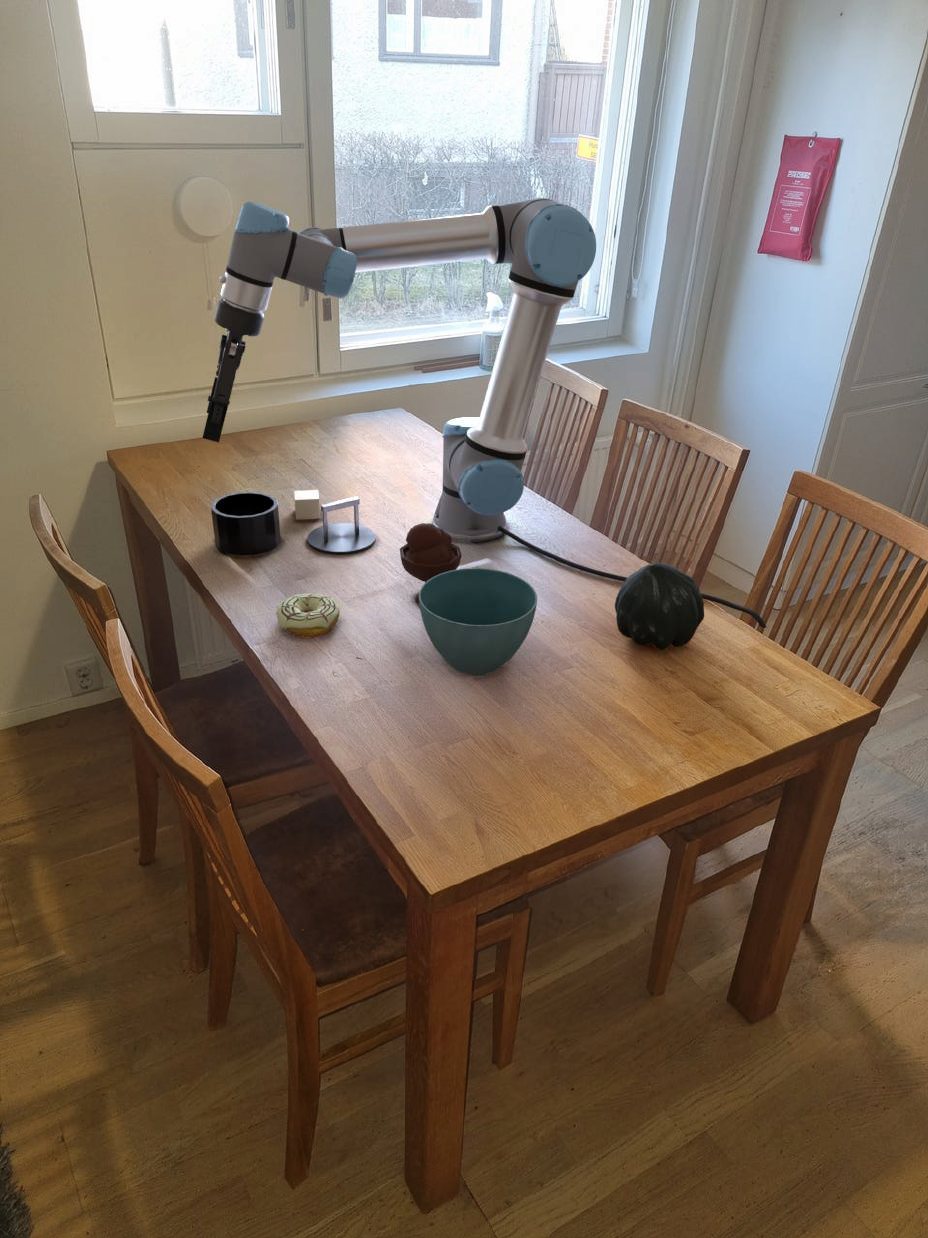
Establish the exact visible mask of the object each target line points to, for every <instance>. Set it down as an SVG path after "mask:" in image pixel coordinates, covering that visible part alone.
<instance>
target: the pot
mask: <svg viewBox="0 0 928 1238" xmlns="http://www.w3.org/2000/svg"><path fill="white" fill-rule="evenodd" d="M278 502H279V501H278V499H276V498H275V497H274V496H273V495H270V494H267V493H264V492H260V491H259V492H258V491H240V492H239V491H238V492H233V493H229V494H225V495H222V496H220V497H217V498H216V499H215V500H214V501H212V503H211V505H210V511H211V518H212V528H213V536H214V542H215V543H214V544H215V548H216V550H217V552H219V553H220V554H222V555H224V556H227V557H230V555H233V556H239V557H241V556H242V557H243V556H245V557H246V556H257V555H260V554H265V553H268V552H270V551H272V550H274V549H275V548H277V547H278V546H279V545H280V543H281V542H282V540H281V527H280V525H281V524H280V515H279V514H280V513H279V503H278Z"/></svg>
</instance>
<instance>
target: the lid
mask: <svg viewBox="0 0 928 1238" xmlns="http://www.w3.org/2000/svg"><path fill="white" fill-rule="evenodd" d="M360 500H361V499H360V498H359V497H358V496H353V497H349V498H345V499H340V500H336V501H331V502H327V503H322V504H320V512H322V513H321V514H322V515H321V516H322V525H321V526H319V527H316V528H314V529H312V530H311V531H310V532H309V533H308V535H307V544H308V546H309V547H310V548H312V549H313V550H315V551H317V552H319V553H323V554H329V555H336V556H337V555H340V556H341V555H352V554H357V553H361V552H365V551H366V550H368V549H370V548H371V547H373V546H374V545H375V543H376V539H377V536H376V533H375V532H374V530H372V529H371V528H369V527H367V526H365V525H362V524H360V513H359V511H360V510H359V508H360V507H359V506H360V505H361V504H360V503H361V501H360ZM351 507H353V515H354V516H353V520H354V521H353V522H354V523H351V522H336V523H335V522H334V523H329V524H328V512H334V511H337V510H342V509H347V508H351Z"/></svg>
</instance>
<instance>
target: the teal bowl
mask: <svg viewBox="0 0 928 1238" xmlns="http://www.w3.org/2000/svg"><path fill="white" fill-rule="evenodd" d="M418 593H419V604H418V605H419V610H420V615H421V620H422V623H423V626H424V629H425V632H426V634H427V636H428V638H429V640H430V642H431V644H432V645H433V647H434V649H435V650H436V651H437V653H438V654H439V655H440V656H441V657H442V659H443V660H444V661H445V662H446V663H447V664H448V665H449V666H450V667H451V668H453V669H454V670H455V671H457V672H459V673H462V674H465V675H468V676H469V675H470V676H484V675H485V676H486V675H488V674H492V673H494V672H496V671H497V670H499V669H500V668H502V667H503V666H504V665H505V664H506V663H508V662H509V661H510V660H511V659H512V658H513V656H515V654H516V653H517V652H518V651H519V649H520V648H521V646H522V645H523V643H524V642H525V640H526V638H527V637H528V635H529V633H530V630H531V627H532V625H533V621H534V618H535V616H536V615H535V614H536V610H537V607H538V606H537V605H538V594H537V592H536V590H535V588H534V587H533V586H532V585H531V584H530V583H529V582H528V581H526V580H525V579H523V578H521V577H519V576H517V575H514V574H513V573H510V572H507V571H503V570H498V569H492V568H485V567H483V568H481V567H468V568H467V567H466V568H457V569H456V570H452V571H448V572H445V573H442V574H439V575H437V576H435V577H433V578H431V579H429V580H428V581H427V582H426V583H425V582H424V583H423V584H422V586H421V587H420V589H419V592H418Z"/></svg>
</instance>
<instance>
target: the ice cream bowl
mask: <svg viewBox="0 0 928 1238" xmlns="http://www.w3.org/2000/svg"><path fill="white" fill-rule="evenodd" d="M405 542H406V543H405V544H404V545H403V546H401V547H399V556H400V561H401V565H402V567H403V569H404V571H406V572H407V573H408V574H409V575H410V576H412V577H413V578H415V579H417V580H418V581H421V582H424V584H425V583H426V582H427V581H428V580H429V579H431V578H433V577H435V576H437V575H439V574H442V573H445V572H448V571H452V570H458V569H459V568H458V567H459V566H460V564H461V560H462V551H461V547H460V546H458V545H456V544H455V543H453V538H452V537H451V536H450V535H449V534H448V533H447V532H445V531H444V530H443V529H441V528H439V527H436V526H434V525H433V523H430V522H427V523H425V522H421V523H418V524H415V525H413V526H412V527H411V528H410V529H409V531H408V532H407V534H406V538H405ZM414 601H415V603H416V604H418V605H420V604H419V592H417V593H416V594H415V596H414Z"/></svg>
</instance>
